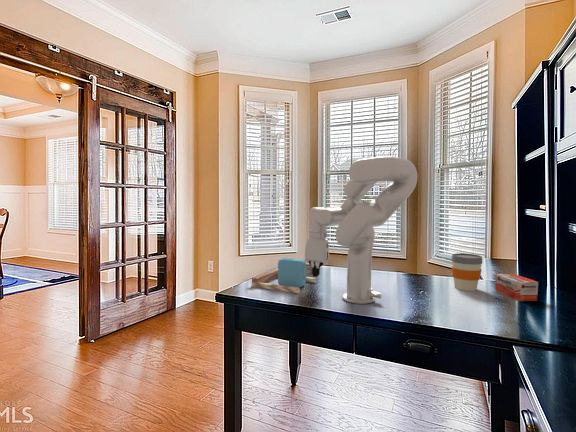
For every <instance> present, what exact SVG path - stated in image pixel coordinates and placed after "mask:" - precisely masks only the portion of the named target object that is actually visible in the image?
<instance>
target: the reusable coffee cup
mask: <svg viewBox="0 0 576 432" xmlns="http://www.w3.org/2000/svg"><path fill="white" fill-rule="evenodd" d="M451 262H452V263H451V264H452V266H451V273H452V277H453V284H454V289H456V290H458V291H459V290H460V291H463V292H475V291H477V289H478V284H479V280H480V279H481V274H482V269H481V268H482V264H483V256H482V255H479V254H473V253H465V252H464V253H463V252H462V253H461V252H460V253H459V252H457V253H453V254H452V255H451Z"/></svg>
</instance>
